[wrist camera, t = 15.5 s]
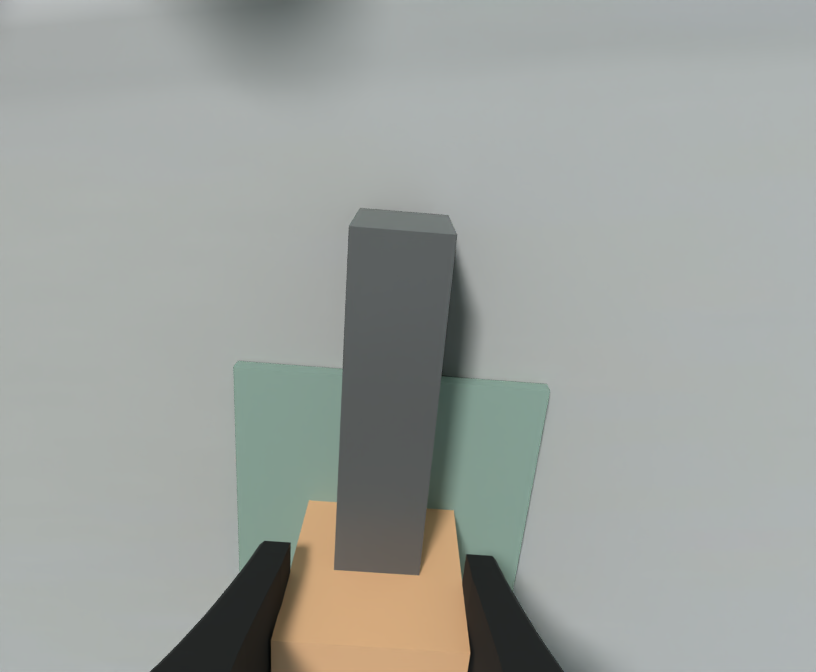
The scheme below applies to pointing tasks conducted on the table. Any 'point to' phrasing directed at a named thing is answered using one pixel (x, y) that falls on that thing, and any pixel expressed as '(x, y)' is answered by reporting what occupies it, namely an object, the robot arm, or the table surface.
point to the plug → (383, 474)
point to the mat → (450, 471)
